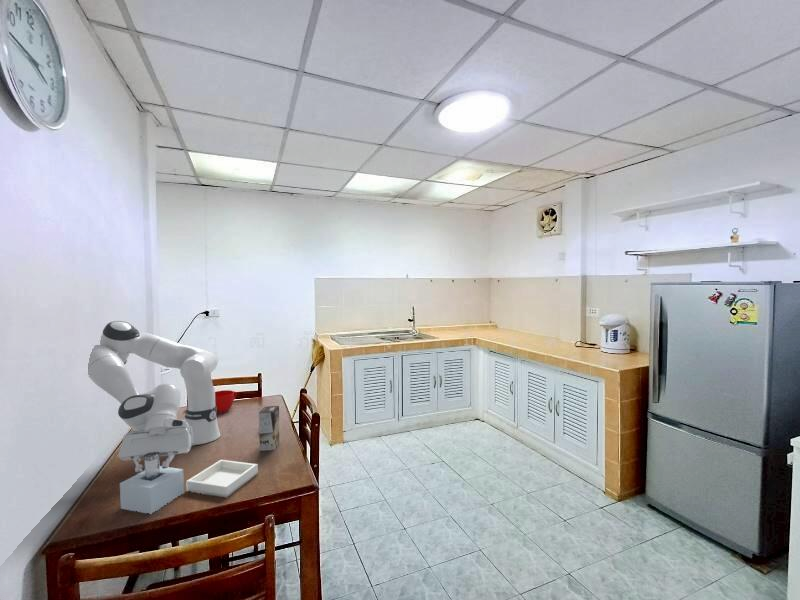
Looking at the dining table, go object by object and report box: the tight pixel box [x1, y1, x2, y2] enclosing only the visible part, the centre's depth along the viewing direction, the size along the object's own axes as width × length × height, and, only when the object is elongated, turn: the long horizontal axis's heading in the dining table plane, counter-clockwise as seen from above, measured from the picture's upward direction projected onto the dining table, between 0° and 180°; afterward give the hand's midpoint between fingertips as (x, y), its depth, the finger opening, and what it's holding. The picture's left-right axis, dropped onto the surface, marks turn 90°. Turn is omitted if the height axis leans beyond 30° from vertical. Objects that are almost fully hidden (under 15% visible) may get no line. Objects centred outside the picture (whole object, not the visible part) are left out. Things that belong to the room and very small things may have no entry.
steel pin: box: [143, 452, 161, 481], centre depth 119 cm, size 4×4×10 cm
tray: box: [185, 459, 259, 498], centre depth 130 cm, size 16×16×4 cm
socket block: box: [119, 465, 185, 515], centre depth 119 cm, size 12×12×8 cm
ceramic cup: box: [215, 389, 238, 414], centre depth 208 cm, size 13×17×10 cm
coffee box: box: [258, 405, 281, 452], centre depth 159 cm, size 9×6×16 cm
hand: (151, 469), depth 119 cm, fingers open, 6 cm apart
